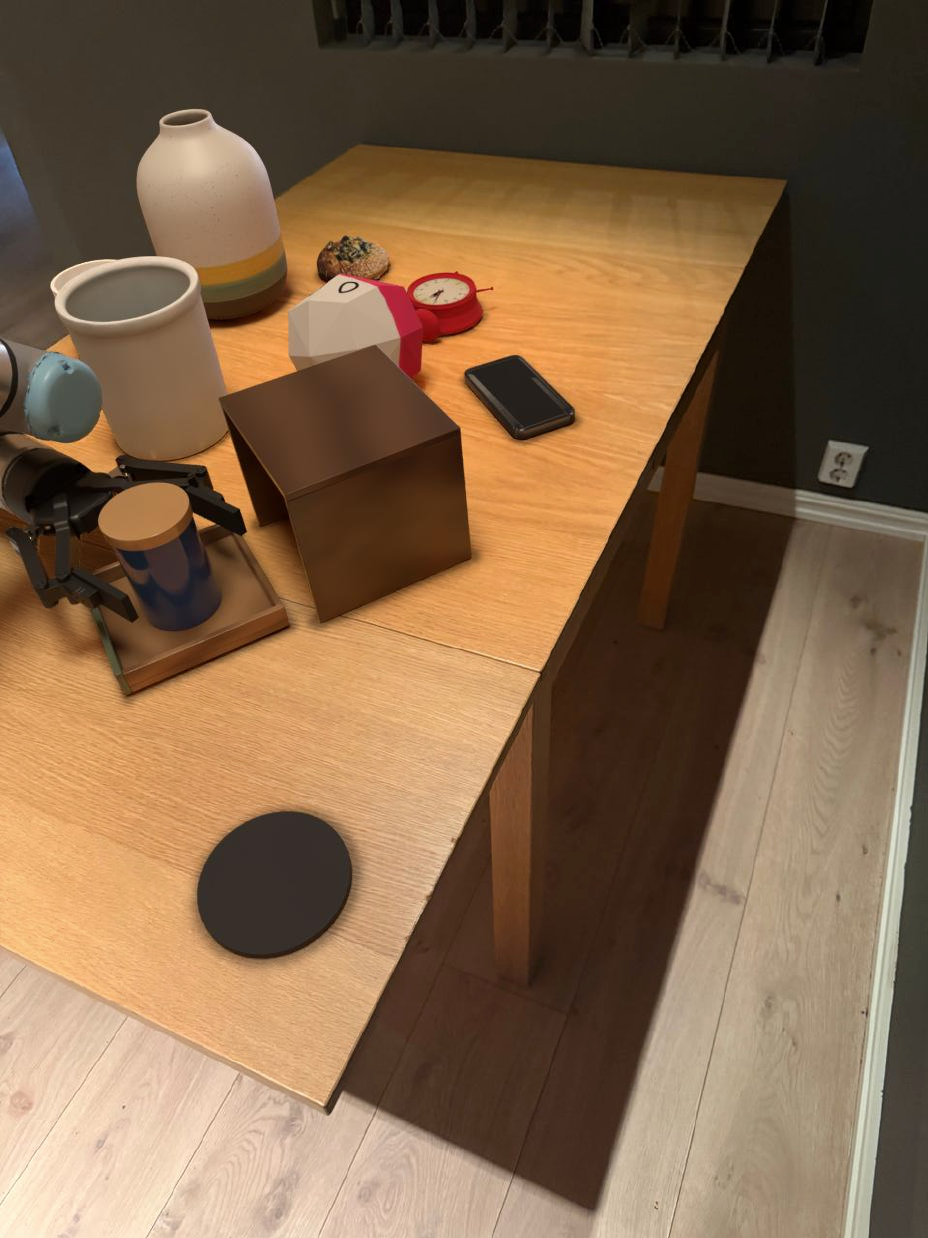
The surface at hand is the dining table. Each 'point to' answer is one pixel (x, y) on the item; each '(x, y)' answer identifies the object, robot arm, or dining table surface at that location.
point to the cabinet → (354, 475)
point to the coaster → (274, 884)
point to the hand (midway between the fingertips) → (188, 564)
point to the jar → (162, 555)
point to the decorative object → (355, 323)
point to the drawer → (237, 621)
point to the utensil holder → (148, 354)
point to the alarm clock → (445, 303)
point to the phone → (519, 396)
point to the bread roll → (352, 259)
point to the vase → (213, 213)
